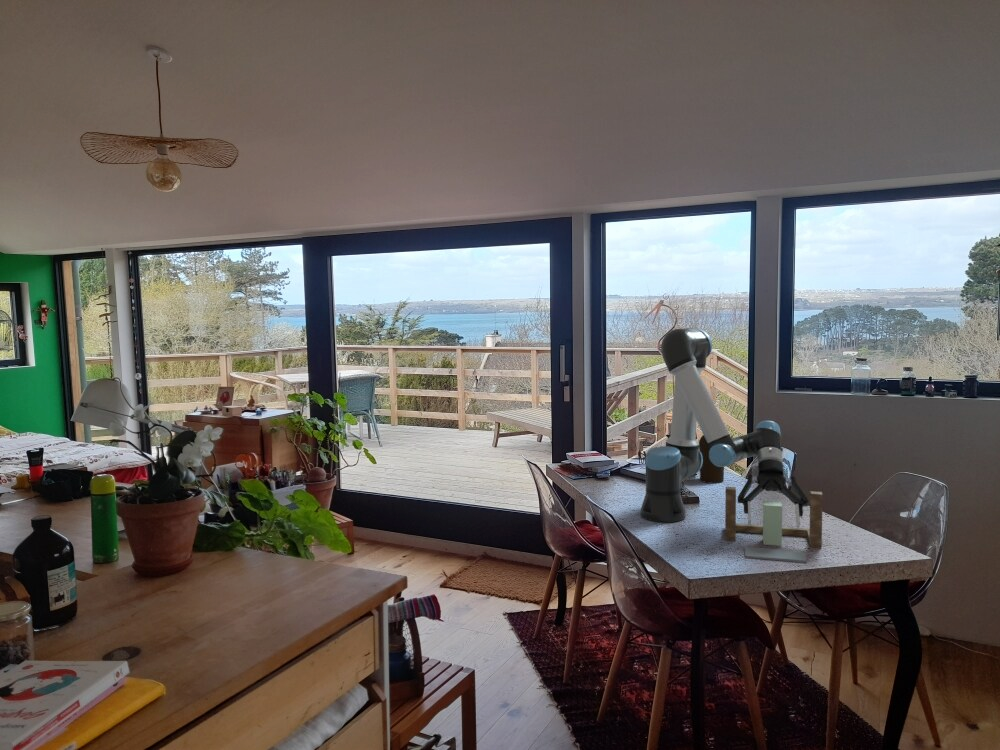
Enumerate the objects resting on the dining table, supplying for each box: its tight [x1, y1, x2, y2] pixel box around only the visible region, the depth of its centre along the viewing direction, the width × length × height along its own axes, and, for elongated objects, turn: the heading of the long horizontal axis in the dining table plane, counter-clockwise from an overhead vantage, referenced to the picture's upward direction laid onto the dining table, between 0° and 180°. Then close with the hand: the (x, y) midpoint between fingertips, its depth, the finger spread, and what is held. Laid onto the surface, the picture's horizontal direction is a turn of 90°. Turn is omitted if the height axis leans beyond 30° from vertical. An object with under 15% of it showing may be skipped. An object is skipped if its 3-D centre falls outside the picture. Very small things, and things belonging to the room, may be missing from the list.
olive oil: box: [698, 434, 725, 483], centre depth 287 cm, size 11×11×25 cm
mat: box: [744, 546, 808, 564], centre depth 196 cm, size 16×8×1 cm, turn 72°
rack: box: [724, 486, 824, 549], centre depth 211 cm, size 27×12×16 cm, turn 72°
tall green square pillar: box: [762, 500, 783, 547], centre depth 207 cm, size 5×5×12 cm
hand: (773, 524), depth 206 cm, fingers open, 13 cm apart
